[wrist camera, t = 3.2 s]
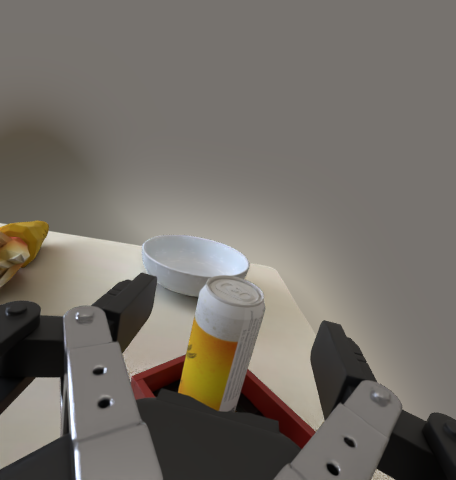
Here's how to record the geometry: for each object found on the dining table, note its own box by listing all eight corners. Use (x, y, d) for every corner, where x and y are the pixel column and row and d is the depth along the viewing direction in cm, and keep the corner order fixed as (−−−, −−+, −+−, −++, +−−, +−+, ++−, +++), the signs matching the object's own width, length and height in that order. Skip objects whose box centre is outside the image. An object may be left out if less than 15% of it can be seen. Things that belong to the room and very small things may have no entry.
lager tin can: (202, 382, 34) (230, 268, 29) (242, 418, 30) (280, 295, 26) (161, 412, 29) (187, 281, 25) (203, 458, 25) (242, 316, 21)
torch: (45, 257, 61) (-18, 309, 37) (8, 236, 58) (-86, 278, 35) (69, 227, 61) (20, 260, 37) (33, 204, 58) (-45, 225, 35)
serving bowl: (228, 266, 69) (234, 240, 68) (255, 316, 50) (265, 282, 48) (140, 256, 64) (144, 227, 62) (133, 308, 44) (138, 269, 42)
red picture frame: (127, 403, 29) (131, 375, 28) (212, 363, 37) (218, 341, 36) (229, 576, 19) (241, 543, 18) (315, 468, 27) (327, 442, 26)
